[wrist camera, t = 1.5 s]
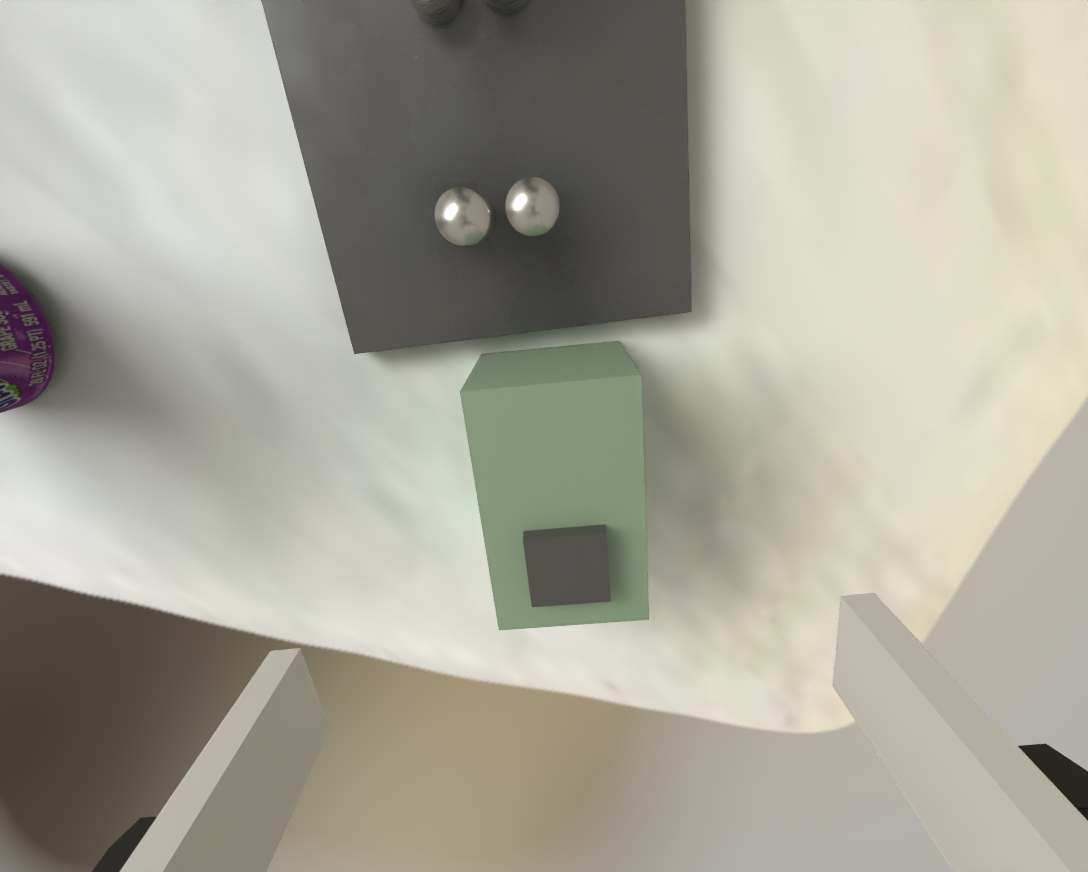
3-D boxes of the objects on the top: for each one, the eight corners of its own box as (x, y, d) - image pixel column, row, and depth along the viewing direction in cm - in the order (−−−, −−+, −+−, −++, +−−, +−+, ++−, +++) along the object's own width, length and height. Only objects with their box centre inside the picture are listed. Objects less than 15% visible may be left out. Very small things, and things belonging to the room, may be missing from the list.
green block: (482, 353, 23) (456, 397, 16) (618, 340, 22) (644, 379, 16) (509, 546, 26) (497, 641, 20) (627, 536, 26) (651, 630, 20)
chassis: (237, -138, 17) (161, -229, 13) (672, -217, 16) (703, -334, 13) (362, 348, 22) (330, 368, 19) (685, 308, 22) (709, 321, 18)
